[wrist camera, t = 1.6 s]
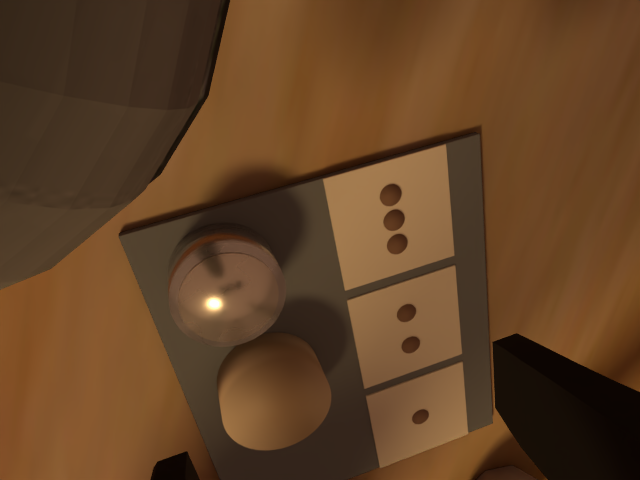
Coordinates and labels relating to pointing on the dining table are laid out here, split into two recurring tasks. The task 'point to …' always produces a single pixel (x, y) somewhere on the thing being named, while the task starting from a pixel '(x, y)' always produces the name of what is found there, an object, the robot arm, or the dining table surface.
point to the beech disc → (272, 392)
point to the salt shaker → (506, 474)
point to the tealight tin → (224, 285)
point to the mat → (354, 309)
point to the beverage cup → (92, 113)
